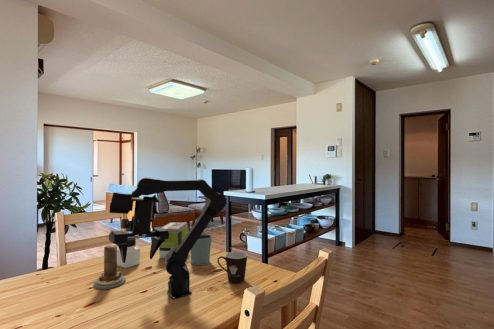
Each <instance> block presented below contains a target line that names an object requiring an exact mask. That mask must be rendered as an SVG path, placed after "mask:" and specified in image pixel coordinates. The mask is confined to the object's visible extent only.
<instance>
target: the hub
mask: <svg viewBox="0 0 494 329" xmlns="http://www.w3.org/2000/svg"><path fill="white" fill-rule="evenodd" d="M123 276H124V275H123V274H121V276H120V279H118V280H114V281H110V282H106V281H99V277H98V278H97V279H96V280H97V285H100V286H109V285H114V284H117V283H119V282H121V281H122V280H123Z"/></svg>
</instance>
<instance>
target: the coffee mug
mask: <svg viewBox="0 0 494 329" xmlns="http://www.w3.org/2000/svg"><path fill="white" fill-rule="evenodd" d="M220 259H224V260H225V263H226V268H225V267H224V266H222V265H221V263H220ZM216 261H217V264H218V266H219V267H220V268H221V269H222V270H223V271H224V272H226V274H227V281H228V283H230V284H234V285H238V284H243V283H244V282H245V278H246V269H247V261H248V253H246V252H244V251H231V252H226V253H225V256H219V257H218V258H217V260H216Z"/></svg>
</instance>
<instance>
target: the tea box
mask: <svg viewBox="0 0 494 329" xmlns="http://www.w3.org/2000/svg"><path fill="white" fill-rule="evenodd" d="M161 228H164V229H166V230H168V231H169V239H165V242H163V243H162V244H161V245H160V247H159V248H158V250H159V251H158V253H159V254H158V255H159V259H166V254H168V253H169V251H170V249H171V247H172V246H173V247H174V248H176V247H177V246H179V245H180V244H181V242H182V241H183V239H184V238H185V236H186V235H187V234H188V232H189V231H188V230H189V229H188V222H168V223H167V224H165V225H163V226H162V227H161Z"/></svg>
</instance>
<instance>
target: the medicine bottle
mask: <svg viewBox="0 0 494 329" xmlns="http://www.w3.org/2000/svg"><path fill="white" fill-rule="evenodd" d="M136 239H137V238H135V239H128V240H127V241H126V243H127V244H128V247H127V255H126V261H125V263H123V262H122V258H121V254H120V250H119V248H117V267H122V268H124V269H128V268H131V267H134V266H137V265H140V263H141V262H140V261H141V256H140V255H141V248H140V247H136V245H137V244H136V242H137V241H136Z"/></svg>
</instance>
